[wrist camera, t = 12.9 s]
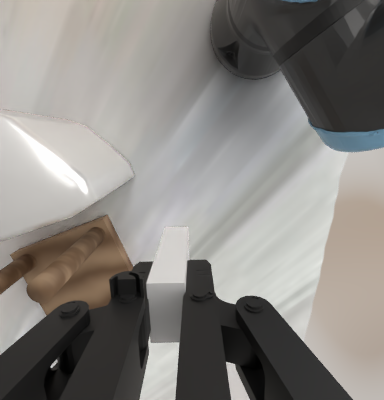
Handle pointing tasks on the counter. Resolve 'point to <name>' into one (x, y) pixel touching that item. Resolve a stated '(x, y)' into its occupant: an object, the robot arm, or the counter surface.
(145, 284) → the robot arm
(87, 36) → the counter surface
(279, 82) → the counter surface
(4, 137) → the white canister
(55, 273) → the footstool
